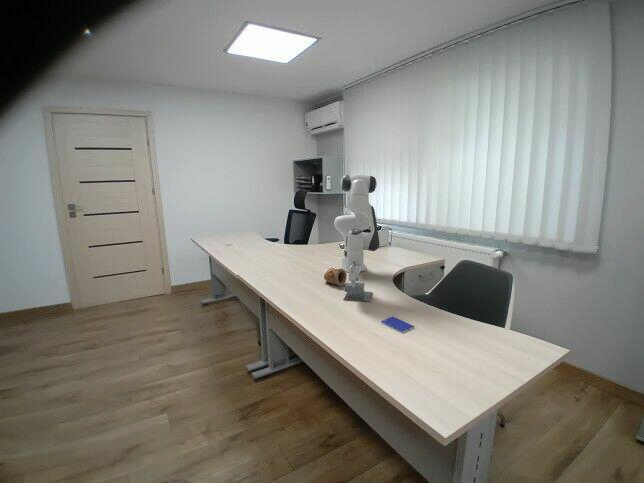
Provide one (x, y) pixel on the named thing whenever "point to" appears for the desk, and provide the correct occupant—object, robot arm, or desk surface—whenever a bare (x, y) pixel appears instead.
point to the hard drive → (397, 324)
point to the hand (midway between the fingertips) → (355, 283)
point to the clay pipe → (336, 276)
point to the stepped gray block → (355, 289)
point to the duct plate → (365, 298)
